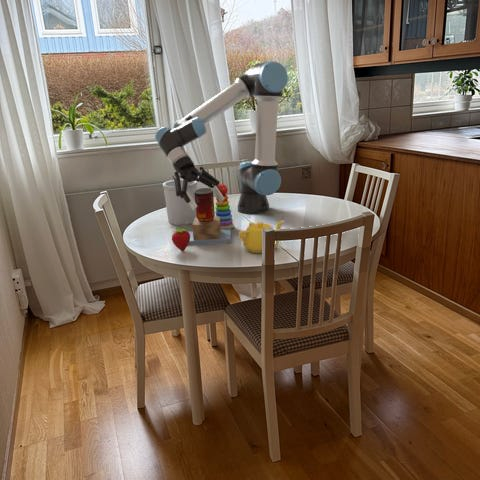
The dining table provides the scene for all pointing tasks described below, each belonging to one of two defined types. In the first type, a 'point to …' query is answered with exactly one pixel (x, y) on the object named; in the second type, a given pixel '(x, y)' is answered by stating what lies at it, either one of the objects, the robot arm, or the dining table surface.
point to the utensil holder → (179, 203)
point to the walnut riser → (207, 229)
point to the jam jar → (204, 205)
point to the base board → (224, 238)
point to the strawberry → (181, 238)
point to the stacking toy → (224, 209)
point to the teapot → (255, 236)
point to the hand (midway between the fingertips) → (209, 204)
